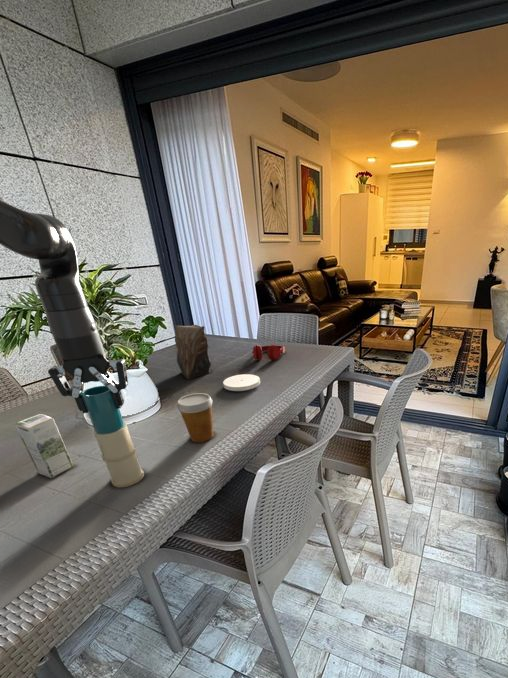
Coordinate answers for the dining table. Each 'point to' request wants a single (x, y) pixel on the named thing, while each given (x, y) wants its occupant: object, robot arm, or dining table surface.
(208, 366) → the brown stone chunk
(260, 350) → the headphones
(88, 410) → the teal cup
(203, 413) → the disposable coffee cup
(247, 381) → the plastic lid
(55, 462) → the syrup box
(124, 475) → the cup stack
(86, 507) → the dining table surface
